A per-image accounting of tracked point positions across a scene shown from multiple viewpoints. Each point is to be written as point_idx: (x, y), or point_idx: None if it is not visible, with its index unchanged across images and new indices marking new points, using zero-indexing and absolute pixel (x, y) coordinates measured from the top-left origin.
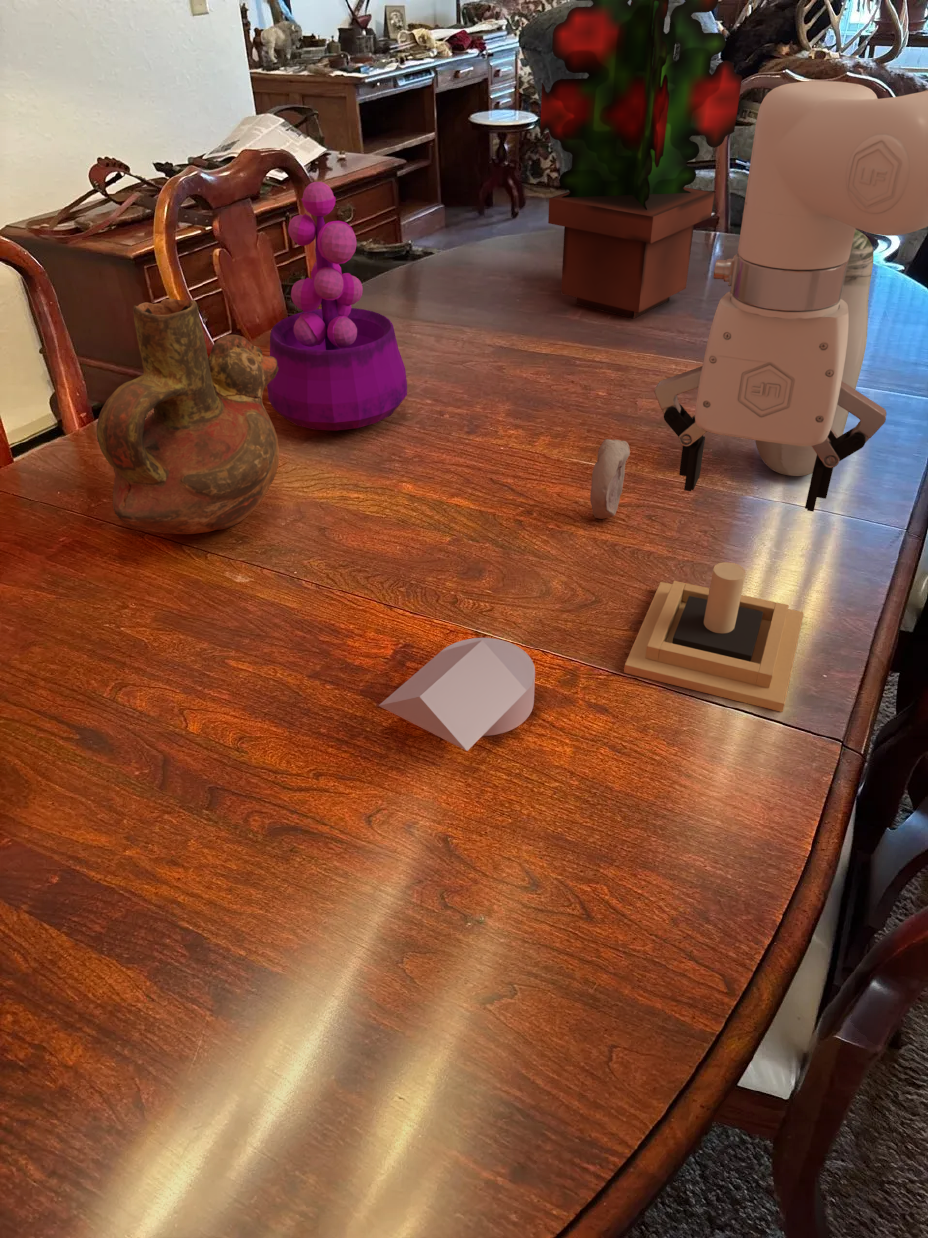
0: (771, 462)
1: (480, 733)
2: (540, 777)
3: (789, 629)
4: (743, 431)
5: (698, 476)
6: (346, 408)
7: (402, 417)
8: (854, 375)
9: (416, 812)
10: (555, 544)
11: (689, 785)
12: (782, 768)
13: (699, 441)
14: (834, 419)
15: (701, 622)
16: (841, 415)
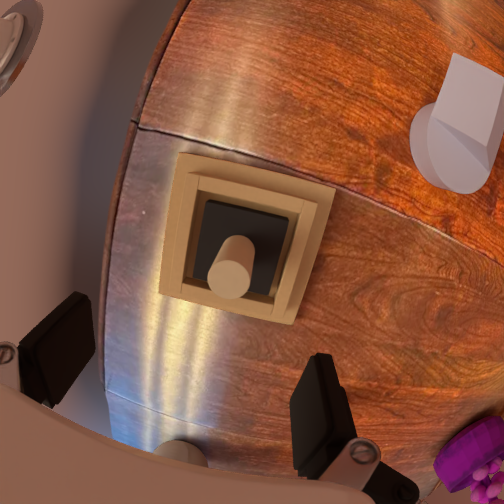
0: (195, 450)
1: (451, 66)
2: (391, 57)
3: (170, 266)
4: (194, 489)
5: (295, 394)
6: (480, 432)
7: (434, 446)
8: None
9: (454, 41)
10: (376, 364)
11: (271, 50)
12: (189, 83)
13: (317, 456)
14: None
15: (257, 251)
16: None
